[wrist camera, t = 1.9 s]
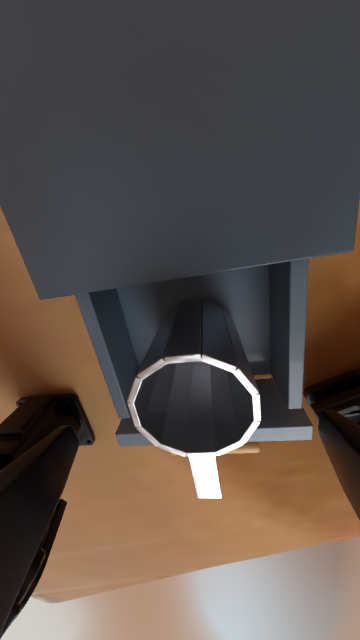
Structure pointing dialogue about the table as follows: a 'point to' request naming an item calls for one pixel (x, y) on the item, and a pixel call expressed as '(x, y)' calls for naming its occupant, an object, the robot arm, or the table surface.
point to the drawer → (252, 326)
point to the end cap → (337, 396)
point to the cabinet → (177, 136)
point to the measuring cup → (196, 390)
